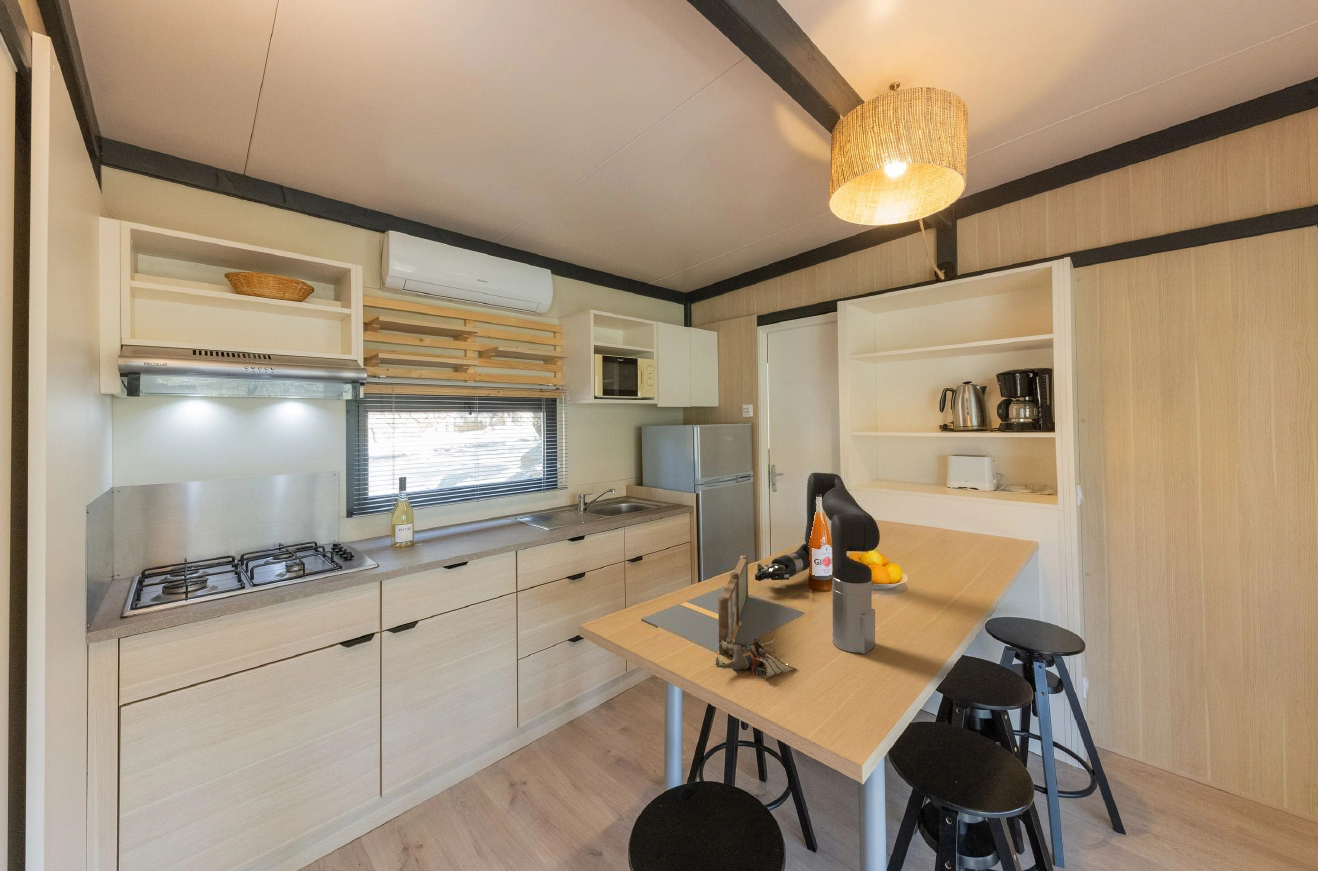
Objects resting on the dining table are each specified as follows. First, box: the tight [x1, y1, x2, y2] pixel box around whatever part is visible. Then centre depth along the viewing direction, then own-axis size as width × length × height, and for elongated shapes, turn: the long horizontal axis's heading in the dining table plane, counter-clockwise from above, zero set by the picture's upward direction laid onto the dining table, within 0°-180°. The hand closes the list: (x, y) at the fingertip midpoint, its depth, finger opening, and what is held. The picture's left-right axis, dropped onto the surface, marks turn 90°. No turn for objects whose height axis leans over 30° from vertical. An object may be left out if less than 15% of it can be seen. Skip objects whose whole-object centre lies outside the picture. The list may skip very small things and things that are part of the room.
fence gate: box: [732, 554, 749, 617], centre depth 145 cm, size 20×2×13 cm, turn 162°
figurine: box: [714, 636, 798, 681], centre depth 111 cm, size 20×6×17 cm
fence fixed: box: [718, 572, 739, 656], centre depth 126 cm, size 20×2×14 cm, turn 162°
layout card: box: [640, 586, 806, 657], centre depth 140 cm, size 31×37×1 cm
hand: (757, 577), depth 155 cm, fingers closed
